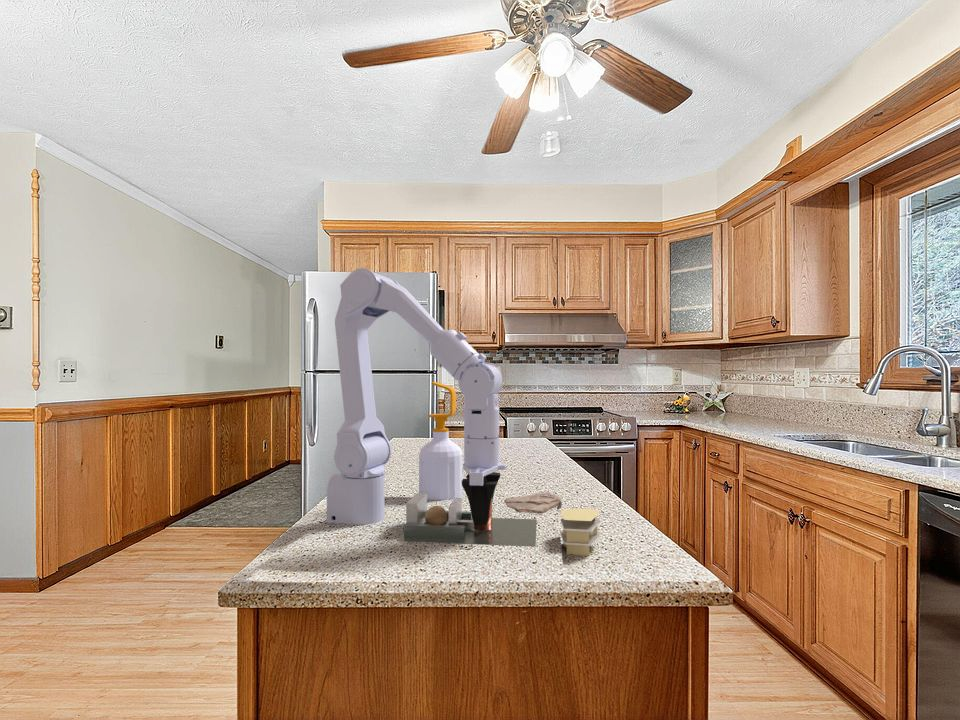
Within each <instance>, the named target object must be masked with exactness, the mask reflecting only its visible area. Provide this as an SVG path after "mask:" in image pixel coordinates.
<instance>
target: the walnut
mask: <svg viewBox="0 0 960 720" xmlns="http://www.w3.org/2000/svg"><path fill="white" fill-rule="evenodd" d="M446 511H447V510H446V509H445V508H443V506H440V505H433V506H430V507H429V508H427V512H426V514H425V520H426V523H427V524H431V525H444V524H445V523H446V521H447V513H446Z"/></svg>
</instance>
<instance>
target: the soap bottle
mask: <svg viewBox="0 0 960 720" xmlns="http://www.w3.org/2000/svg"><path fill="white" fill-rule="evenodd" d="M431 385H432V386H435V387H439V388H442V389H444V390H446V391H448V392H449V394H450V410H449V411H450V412H449V413H432V414H431V413H430V414H428V418H433V419H434V420H433V421H434V422H436V427H434V428H432V440H430V441H429V442H427V443H426V444H424V445H423V446H422V447H421V448H420V451H419V453H418V493H427V500H429V501H448V500H454V498H462V499H463V487H462V480H463V450H462V449H461V447H460V446H459V445H458V444H457V443H455V442H454V441H452V440H451V439H450V437H449V436H450V434H449V433H450V431H449V430H450V429H449V428H448V427H446V422H448V418H450V417H452V416H454V415H455V414H456V413H457V412H456V411H457V392H456V389H455V388H454V387H452V386H450V385H447V384H443V383H441V382H437V381H433V382H431Z"/></svg>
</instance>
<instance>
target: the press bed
mask: <svg viewBox="0 0 960 720" xmlns="http://www.w3.org/2000/svg"><path fill="white" fill-rule="evenodd" d="M427 510H428V499H427V493H419V492H416V493H415V494H414V495H413V496H412V497H411V498H410V499H409V500H408V501H407V502H406V503H405V511H406V512H405V513H406V514H405V518H406V519H405V521H406V523H405V524H404V525H403V532H402V533H401V535H400V536H399V538H397V539H396V542H404V543H405V542H407V543H408V542H410V543H431V544H432V543H433V544H434V543H436V544H437V543H439V544H459V545H460V544H462V545H463V544H464V545H484V546H485V545H487V546H508V547H509V546H512V547H516V546H517V547H535V548H536V547H537V542H536V541H537V525H538V524H537V521H538V520H537V518H536V519H535V518H533V519H532V518H511V517H510V518H508V517H507V518H505V517H503V518H502V517H492V529H491V530H487V531H479V530H475V529H468V528H465V526H460V525H449V510H445V511H446V513H447V521H446V523H445V524H444V525H431V524H427V523H426V520H425V514H426V512H427ZM460 520H473V519H472V515H471V511H462V517H461V518H460Z"/></svg>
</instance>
